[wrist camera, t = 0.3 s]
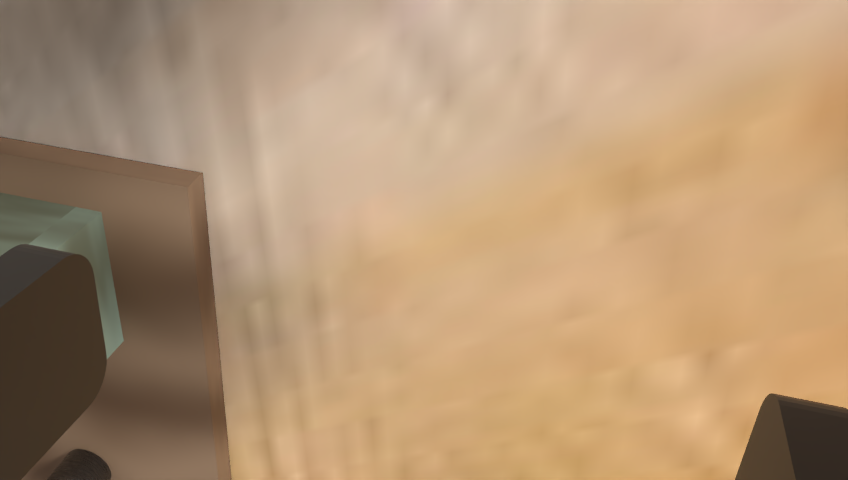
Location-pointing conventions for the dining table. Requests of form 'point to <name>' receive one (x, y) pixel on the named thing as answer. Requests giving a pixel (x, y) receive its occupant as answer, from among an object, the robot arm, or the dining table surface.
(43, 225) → the pale green open box
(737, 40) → the dining table surface
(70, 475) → the metal post
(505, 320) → the dining table surface
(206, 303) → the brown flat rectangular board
